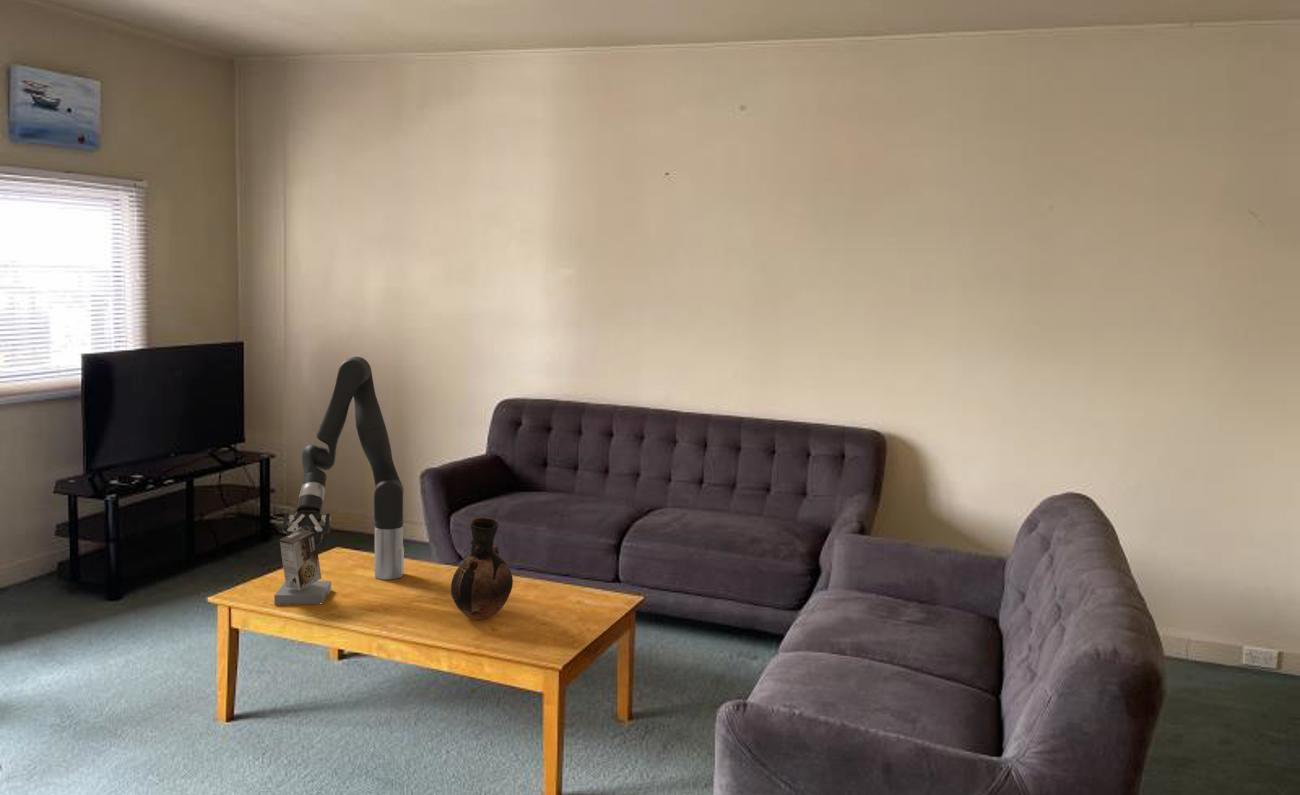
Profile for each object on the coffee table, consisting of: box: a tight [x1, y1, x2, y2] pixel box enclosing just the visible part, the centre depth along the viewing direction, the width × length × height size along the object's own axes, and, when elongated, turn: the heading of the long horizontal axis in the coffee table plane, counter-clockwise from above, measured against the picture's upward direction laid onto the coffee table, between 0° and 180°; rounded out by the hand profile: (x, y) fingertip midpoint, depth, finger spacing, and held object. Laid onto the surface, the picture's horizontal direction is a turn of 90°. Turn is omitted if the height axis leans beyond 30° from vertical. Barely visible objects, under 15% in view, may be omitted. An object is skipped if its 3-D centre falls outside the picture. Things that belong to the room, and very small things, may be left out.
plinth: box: [273, 580, 332, 605], centre depth 304 cm, size 14×14×3 cm
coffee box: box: [278, 528, 322, 590], centre depth 301 cm, size 9×6×16 cm
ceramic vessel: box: [450, 517, 514, 621], centre depth 290 cm, size 21×18×30 cm
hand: (303, 544), depth 302 cm, fingers closed on coffee box, 8 cm apart
